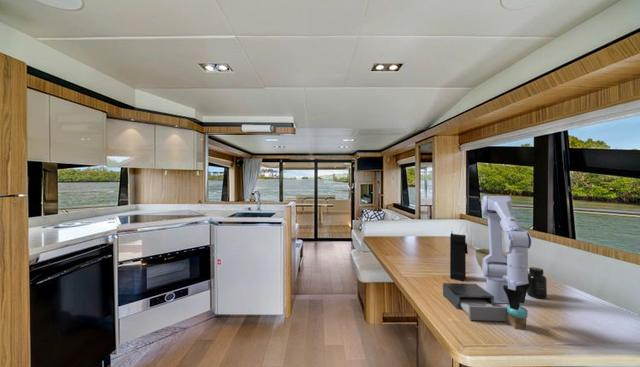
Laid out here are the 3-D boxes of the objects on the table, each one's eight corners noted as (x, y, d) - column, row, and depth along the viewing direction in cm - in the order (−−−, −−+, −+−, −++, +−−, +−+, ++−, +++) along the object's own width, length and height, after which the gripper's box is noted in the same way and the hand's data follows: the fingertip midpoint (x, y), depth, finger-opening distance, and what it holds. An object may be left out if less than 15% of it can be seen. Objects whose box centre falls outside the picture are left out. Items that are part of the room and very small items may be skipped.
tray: (486, 304, 105) (486, 293, 106) (508, 321, 93) (508, 308, 93) (453, 303, 106) (453, 292, 106) (470, 319, 93) (470, 306, 93)
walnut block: (518, 323, 92) (518, 311, 92) (526, 329, 88) (526, 317, 88) (508, 323, 92) (508, 311, 92) (515, 328, 88) (515, 316, 89)
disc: (519, 310, 93) (519, 304, 93) (531, 318, 87) (531, 312, 87) (503, 310, 93) (503, 304, 93) (514, 318, 88) (514, 311, 88)
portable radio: (467, 278, 137) (468, 230, 137) (467, 281, 132) (467, 232, 132) (451, 275, 141) (451, 228, 141) (449, 278, 136) (450, 230, 136)
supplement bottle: (547, 296, 115) (547, 268, 116) (546, 300, 110) (546, 272, 111) (527, 291, 120) (527, 265, 120) (525, 296, 115) (525, 268, 115)
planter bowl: (495, 278, 138) (495, 257, 138) (468, 268, 153) (468, 250, 153) (516, 274, 144) (516, 254, 144) (487, 266, 159) (487, 248, 159)
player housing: (475, 296, 115) (475, 283, 115) (493, 310, 102) (493, 296, 102) (442, 295, 115) (443, 282, 116) (456, 308, 102) (456, 295, 103)
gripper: (509, 259, 98) (509, 296, 98) (497, 267, 89) (497, 307, 88) (532, 264, 93) (533, 302, 93) (523, 272, 83) (523, 315, 83)
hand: (517, 305), depth 90 cm, fingers open, 7 cm apart
